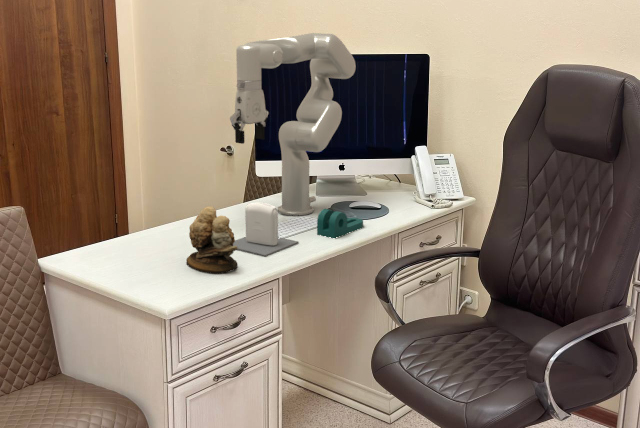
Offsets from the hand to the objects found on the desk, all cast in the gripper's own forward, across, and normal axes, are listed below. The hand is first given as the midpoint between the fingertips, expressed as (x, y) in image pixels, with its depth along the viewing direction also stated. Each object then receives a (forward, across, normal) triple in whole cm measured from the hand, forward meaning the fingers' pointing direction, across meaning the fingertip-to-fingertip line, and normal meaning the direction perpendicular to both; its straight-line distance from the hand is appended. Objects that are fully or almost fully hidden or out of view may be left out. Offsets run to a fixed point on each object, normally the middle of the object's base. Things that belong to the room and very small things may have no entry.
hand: (250, 140), depth 232 cm
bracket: (+29, +14, -26) cm, 41 cm away
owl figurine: (+28, -35, -16) cm, 48 cm away
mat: (+28, -13, -15) cm, 34 cm away
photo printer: (+28, -13, -15) cm, 34 cm away
